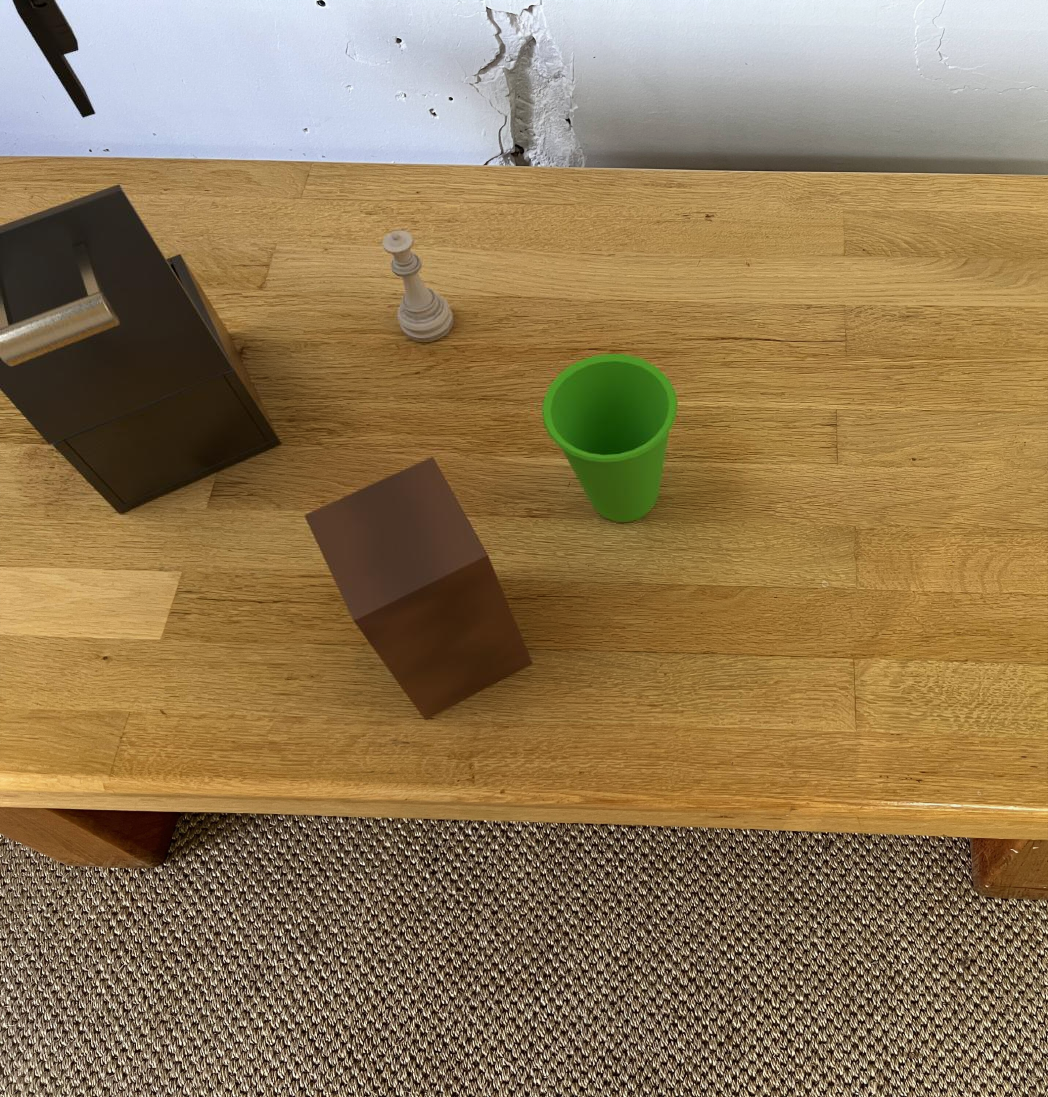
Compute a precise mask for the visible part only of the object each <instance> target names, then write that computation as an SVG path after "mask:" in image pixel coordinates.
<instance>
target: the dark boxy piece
mask: <svg viewBox="0 0 1048 1097" xmlns="http://www.w3.org/2000/svg"><path fill="white" fill-rule="evenodd" d="M166 260H167V261H168V263H169V265H170V266H171V268H172V269H173V271H174V273H175V274H176V276H177V278H178V279H179V281H180V282H181V284H182V286H183V287H184V289H185V290H186V292H187V294H188V295H189V297H190V299H191V300H192V302H193V303H194V305H195V307H196V308H197V310H198V311H199V313H200V315H201V316H202V318H203V319H204V321H205V323H206V324H207V326H208V328H209V329H210V331H211V332H212V334H213V336H214V337H215V339H216V340H217V342H218V344H219V345H220V347H221V349H222V350H223V352H224V353H225V355H226V357H227V358H228V360H229V361H230V363H231V365H232V368H233V370H230V371H228V372H225V373H223V374H221V375H218V376H216V377H213V378H211V379H208V380H206V381H203V382H201V383H199V384H196V385H194V386H191V387H189V388H186V389H184V390H181V391H179V392H177V393H174V394H172V395H169V396H167V397H164V398H162V399H159V400H157V401H155V402H152V403H150V404H147V405H145V406H142V407H140V408H137V409H135V410H133V411H130V412H128V413H125V414H123V415H120V416H118V417H115V418H113V419H111V420H108V421H106V422H103V423H101V424H98V425H96V426H93V427H91V428H89V429H86V430H84V431H81V432H79V433H76V434H74V435H71V436H69V437H67V438H64V439H62V440H59V441H57V442H54V443H52V444H51V445H52V447H54V448H55V450H56V451H58V453H59V454H60V455H61V456H62V457H63V458H64V460H66V461H67V462H68V463H69V464H70V465H71V466H72V467H73V469H75V470H76V471H77V472H78V474H80V475H81V477H82V478H84V480H85V481H86V482H87V483H88V484H89V485H90V486H91V487H92V488H93V489H94V490H95V491H96V492H97V493H98V494H99V495H100V496H101V497H102V498H103V499H104V500H105V501H106V503H108V504H109V506H111V507H112V509H113V510H115V512H116V513H117V514H118V515H121V514H124V513H126V512H128V511H131V510H133V509H135V508H137V507H140V506H142V505H145V504H148V503H149V502H152V501H154V500H156V499H159V498H161V497H162V496H163V497H164V496H165V495H168V494H170V493H172V492H174V491H178V490H179V489H181V488H184V487H186V486H188V485H191V484H192V483H195V482H197V481H200V480H203V479H204V478H206V477H209V476H211V475H213V474H216V473H218V472H221V471H223V470H225V469H228V468H230V467H232V466H234V465H237V464H239V463H241V462H244V461H246V460H248V459H250V458H253V457H255V456H258V455H260V454H262V453H265V452H267V451H269V450H271V449H274V448H276V447H278V446H280V445H282V441H281V438H280V437H279V435H278V433H277V431H276V429H275V427H274V424H273V422H272V420H271V417H270V416H269V414H268V412H267V410H266V407H265V405H264V403H263V401H262V399H261V397H260V395H259V393H258V391H257V388H256V386H255V385H254V382H253V380H252V378H251V376H250V374H249V372H248V370H247V367H246V365H245V363H244V361H243V359H242V357H241V355H240V353H239V351H238V349H237V346H236V344H235V342H234V340H233V337H232V336H231V334H230V332H229V330H228V328H227V327H226V325H225V323H224V322H223V320H222V318H221V317H220V315H219V313H218V312H217V311H216V309H215V308H214V306H213V304H212V303H211V301H210V299H209V298H208V297H207V295H206V292H205V291H204V290H203V287H201V285H200V283H199V281H198V280H197V278H196V276H195V275H194V274H193V272H192V270H191V268H190V267H189V265H188V264H187V262H186V261H185V259H184V257H183V256H182V254H180V253H179V254H176V255H174V256H173V255H172V256H170V257H168V258H166Z"/></svg>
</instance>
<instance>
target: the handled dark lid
mask: <svg viewBox="0 0 1048 1097" xmlns="http://www.w3.org/2000/svg"><path fill="white" fill-rule="evenodd" d="M166 259H167V257H166V256H165V254H163V252H162V250H161V249H160V247H159V245H158V244H157V242H156V241H155V239H154V237H153V235H152V234H151V232H150V231H149V229H148V228H147V226H146V224H145V223H144V221H143V219H142V218H141V216H140V214H139V213H138V212H137V209H136V208H135V207H134V205H133V203H132V202H131V200H130V199H129V197H128V195H127V193H126V192H125V190H124V189H123V187H122V185H121V184H120V183H119V184H116V185H113V186H110V187H107V188H104V189H101V190H98V191H95V192H93V193H90V194H86V195H84V196H80V197H78V198H76V199H73V200H69V201H67V202H64V203H61V204H59V205H55V206H52V207H49V208H47V209H44V210H41V211H38V212H35V213H32V214H30V215H27V216H24V217H21V218H19V219H15V220H13V221H9V222H7V223H3V224H1V225H0V391H1V392H2V393H3V394H4V395H5V397H7V399H8V400H9V401H10V402H11V403H12V404H13V406H14V407H15V408H16V409H17V410H18V411H19V413H21V415H22V416H23V417H24V418H25V419H26V420H27V421H28V423H29V424H30V425H31V426H32V427H33V428H34V429H35V430H36V431H37V433H38V434H39V435H40V436H41V437H42V439H43V440H44V441H45V442H46V443H47V444H48V445H52V443H54V442H57V441H59V440H62V439H64V438H67V437H69V436H71V435H74V434H76V433H79V432H81V431H84V430H86V429H89V428H91V427H93V426H96V425H98V424H101V423H103V422H106V421H108V420H111V419H113V418H115V417H118V416H120V415H123V414H125V413H128V412H130V411H133V410H135V409H137V408H140V407H142V406H145V405H147V404H150V403H152V402H155V401H157V400H159V399H162V398H164V397H167V396H169V395H172V394H174V393H177V392H179V391H181V390H184V389H186V388H189V387H191V386H194V385H196V384H199V383H201V382H203V381H206V380H208V379H211V378H213V377H216V376H218V375H221V374H223V373H225V372H228V371H230V370H233V368H232V365H231V363H230V361H229V360H228V358H227V357H226V355H225V353H224V352H223V350H222V349H221V347H220V345H219V344H218V342H217V340H216V339H215V337H214V336H213V334H212V332H211V331H210V329H209V328H208V326H207V324H206V323H205V321H204V319H203V318H202V316H201V315H200V313H199V311H198V310H197V308H196V307H195V305H194V303H193V302H192V300H191V299H190V297H189V295H188V294H187V292H186V290H185V289H184V287H183V286H182V284H181V282H180V281H179V279H178V278H177V276H176V274H175V273H174V271H173V269H172V268H171V266H170V265H169V263H168V261H167V260H166Z"/></svg>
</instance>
